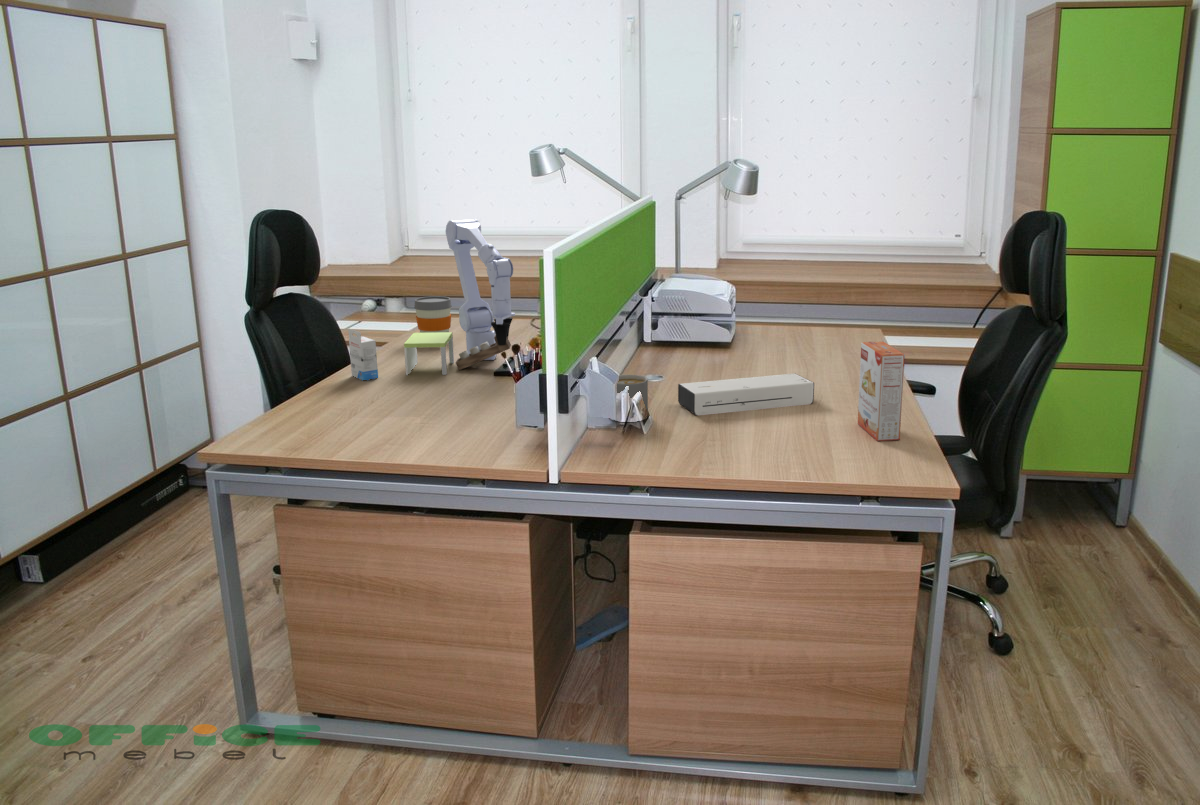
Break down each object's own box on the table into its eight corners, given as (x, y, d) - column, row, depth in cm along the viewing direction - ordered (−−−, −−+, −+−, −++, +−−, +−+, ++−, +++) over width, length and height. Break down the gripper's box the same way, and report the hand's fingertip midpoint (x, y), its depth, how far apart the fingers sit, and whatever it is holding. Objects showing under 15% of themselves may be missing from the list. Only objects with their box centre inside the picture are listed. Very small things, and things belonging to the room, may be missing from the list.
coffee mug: (640, 410, 264) (640, 373, 261) (653, 420, 255) (653, 382, 252) (591, 415, 261) (590, 377, 258) (601, 425, 251) (601, 386, 249)
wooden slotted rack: (511, 345, 313) (504, 330, 311) (509, 348, 308) (502, 333, 307) (461, 366, 315) (454, 352, 313) (459, 370, 310) (452, 355, 309)
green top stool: (453, 362, 320) (452, 332, 317) (446, 374, 304) (444, 343, 302) (415, 362, 320) (413, 332, 317) (406, 375, 305) (403, 343, 302)
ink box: (379, 378, 301) (375, 330, 297) (364, 381, 298) (360, 332, 294) (366, 373, 308) (362, 325, 304) (350, 376, 304) (346, 328, 301)
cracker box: (855, 424, 249) (860, 341, 244) (879, 423, 250) (884, 340, 244) (875, 441, 236) (880, 354, 230) (900, 440, 236) (906, 353, 231)
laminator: (693, 417, 259) (693, 393, 257) (676, 405, 270) (676, 382, 269) (813, 405, 268) (814, 382, 266) (792, 393, 279) (792, 372, 278)
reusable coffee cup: (450, 346, 344) (448, 302, 340) (413, 346, 344) (410, 302, 340) (456, 338, 356) (453, 295, 352) (420, 338, 356) (417, 296, 352)
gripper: (512, 303, 299) (513, 348, 303) (516, 295, 313) (518, 338, 317) (488, 303, 299) (490, 348, 303) (493, 295, 313) (495, 338, 317)
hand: (503, 343), depth 310 cm, fingers closed on wooden slotted rack, 5 cm apart
